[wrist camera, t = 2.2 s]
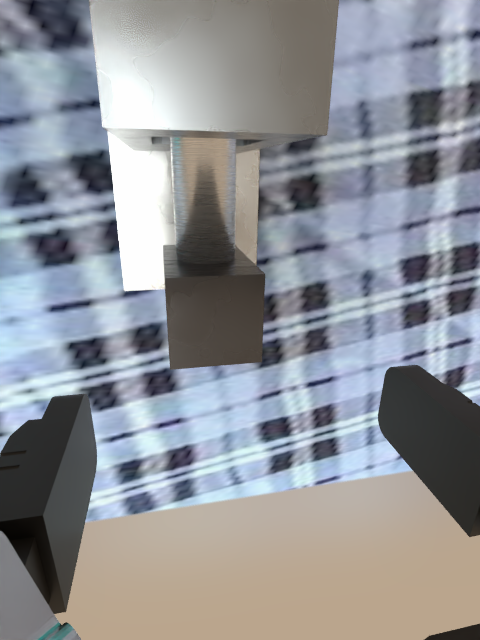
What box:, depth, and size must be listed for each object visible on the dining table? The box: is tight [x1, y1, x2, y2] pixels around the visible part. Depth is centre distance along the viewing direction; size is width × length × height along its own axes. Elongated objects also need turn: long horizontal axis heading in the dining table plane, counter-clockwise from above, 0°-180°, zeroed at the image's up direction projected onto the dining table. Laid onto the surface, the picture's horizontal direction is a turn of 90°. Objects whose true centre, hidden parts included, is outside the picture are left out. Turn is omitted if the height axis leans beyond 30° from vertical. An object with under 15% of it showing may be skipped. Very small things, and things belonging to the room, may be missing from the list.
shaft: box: [163, 137, 265, 370], centre depth 15 cm, size 26×4×7 cm, turn 179°
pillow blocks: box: [89, 0, 339, 291], centre depth 17 cm, size 27×10×16 cm, turn 179°
